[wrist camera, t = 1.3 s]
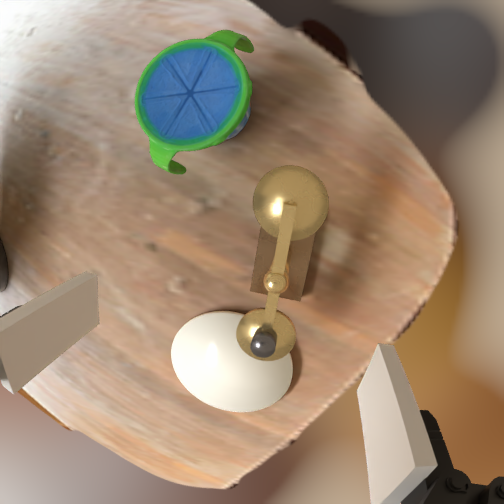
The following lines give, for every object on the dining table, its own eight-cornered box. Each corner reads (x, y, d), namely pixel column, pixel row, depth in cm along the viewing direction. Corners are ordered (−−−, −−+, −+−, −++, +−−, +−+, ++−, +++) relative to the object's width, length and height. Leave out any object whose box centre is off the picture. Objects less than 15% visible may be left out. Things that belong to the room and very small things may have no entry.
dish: (173, 390, 44) (170, 394, 43) (176, 296, 39) (173, 299, 38) (279, 416, 42) (278, 421, 41) (306, 324, 37) (306, 329, 36)
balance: (246, 321, 38) (224, 373, 28) (272, 163, 33) (256, 159, 22) (292, 331, 38) (285, 387, 27) (326, 173, 32) (336, 173, 21)
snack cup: (217, 191, 35) (184, 199, 25) (150, 144, 35) (101, 139, 25) (296, 82, 30) (292, 48, 20) (222, 40, 30) (194, 2, 20)
